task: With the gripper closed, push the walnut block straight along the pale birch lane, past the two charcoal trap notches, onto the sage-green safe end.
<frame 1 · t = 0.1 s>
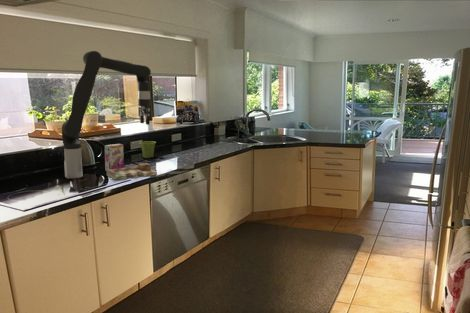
hand: (144, 123, 257), 29 cm above the counter, fingers open, 8 cm apart
plant pot: (148, 157, 300), on the counter
walnut block: (144, 169, 250), point 2 cm above the counter, touching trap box
candy bar box: (115, 170, 256), on the counter
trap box: (131, 175, 243), on the counter
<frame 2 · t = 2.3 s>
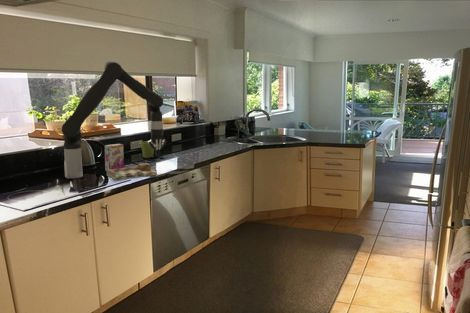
hand: (157, 155, 253), 10 cm above the counter, fingers closed
nothing on the counter moved.
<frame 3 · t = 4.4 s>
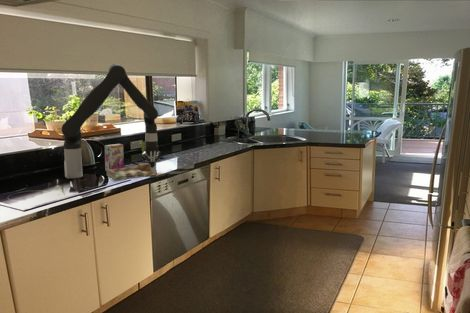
hand: (152, 167, 252), 3 cm above the counter, fingers closed
walnut block: (144, 169, 250), point 2 cm above the counter, touching gripper
everything else where it was.
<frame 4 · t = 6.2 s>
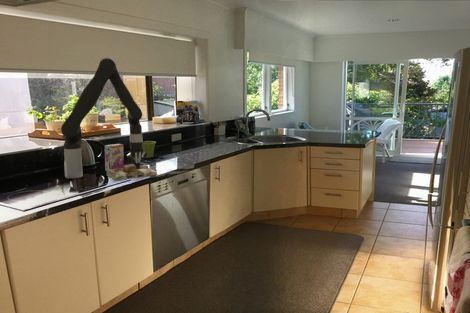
hand: (137, 168, 247), 3 cm above the counter, fingers closed
walnut block: (129, 171, 244), point 2 cm above the counter, touching gripper
everything else where it was.
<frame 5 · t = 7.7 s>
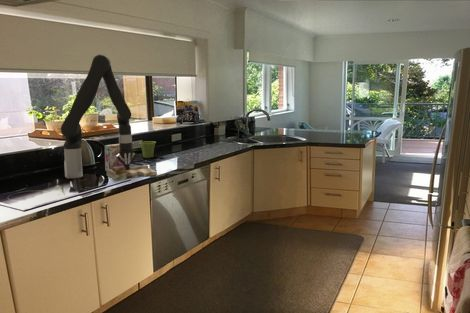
hand: (127, 169, 243), 3 cm above the counter, fingers closed
walnut block: (119, 172, 240), point 2 cm above the counter, touching gripper, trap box
everything else where it was.
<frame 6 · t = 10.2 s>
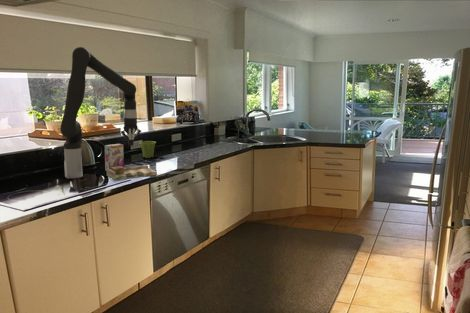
hand: (131, 145, 242), 18 cm above the counter, fingers closed
walnut block: (117, 173, 240), point 2 cm above the counter, touching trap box
everything else where it was.
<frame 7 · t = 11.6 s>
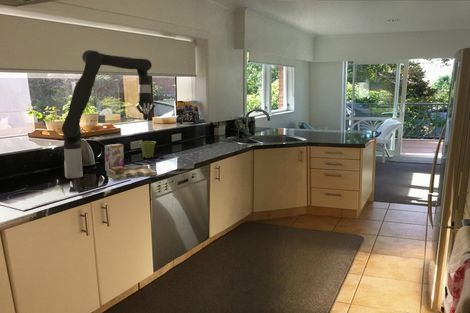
hand: (145, 119, 253), 32 cm above the counter, fingers closed
nothing on the counter moved.
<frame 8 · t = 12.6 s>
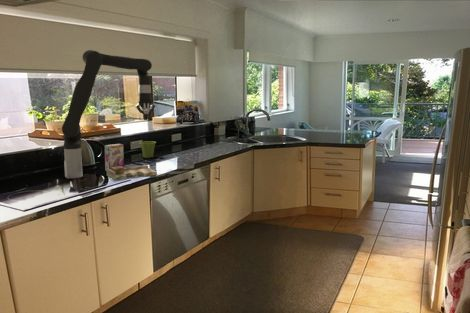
hand: (145, 120, 253), 32 cm above the counter, fingers closed
nothing on the counter moved.
at the end: walnut block 0.9 cm from the target spot on the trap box, point 2.0 cm above the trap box's base; walnut block tilted 0°; the gripper is holding nothing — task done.
